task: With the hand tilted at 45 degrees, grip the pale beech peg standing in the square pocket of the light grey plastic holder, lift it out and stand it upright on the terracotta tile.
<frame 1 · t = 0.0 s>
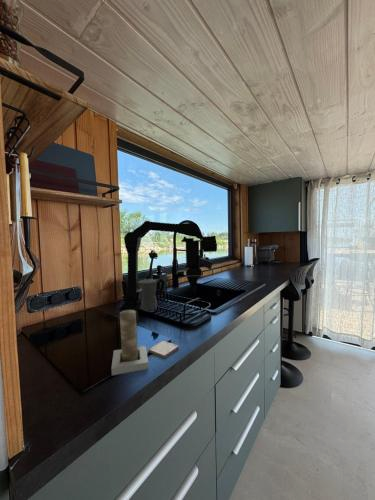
hand: (193, 288, 96), 15 cm above the worktop, tool pointing down, fingers open, 9 cm apart
coffeepot: (151, 310, 114), on the worktop
tile: (163, 349, 74), on the worktop
peg: (129, 337, 67), in the holder
holder: (130, 362, 67), on the worktop
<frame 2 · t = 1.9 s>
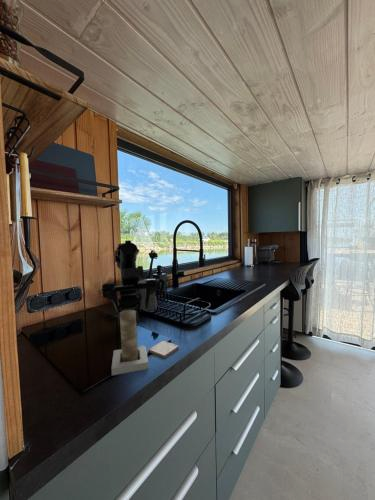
hand: (132, 310, 74), 13 cm above the worktop, tool tilted 40°, fingers open, 9 cm apart
nothing on the worktop moved.
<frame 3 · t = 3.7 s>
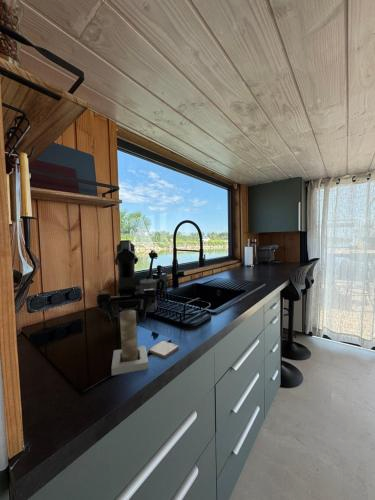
hand: (128, 322, 69), 11 cm above the worktop, tool tilted 45°, fingers open, 9 cm apart
nothing on the worktop moved.
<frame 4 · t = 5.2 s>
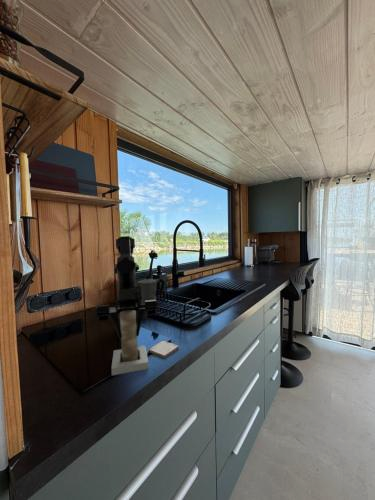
hand: (128, 336, 65), 9 cm above the worktop, tool tilted 45°, fingers closed on peg, 5 cm apart
peg: (129, 337, 67), in the holder, touching gripper
everything else where it was.
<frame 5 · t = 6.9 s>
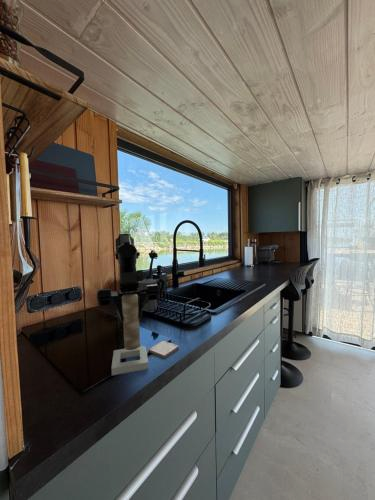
hand: (131, 320, 65), 13 cm above the worktop, tool tilted 45°, fingers closed on peg, 5 cm apart
peg: (131, 321, 67), point 13 cm above the worktop, touching gripper
everything else where it was.
when the fingers open (10 cm above the worktop, at t = 8.9 s): peg stays where it is, resting on tile.
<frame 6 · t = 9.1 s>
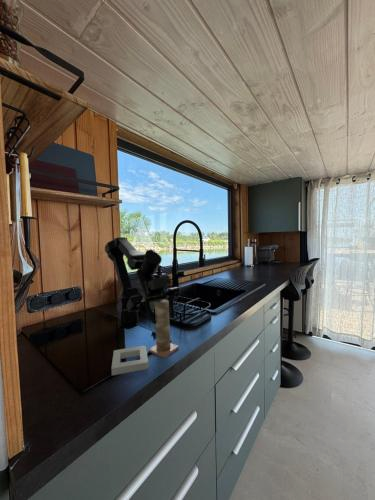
hand: (164, 320, 72), 10 cm above the worktop, tool tilted 45°, fingers open, 6 cm apart
peg: (162, 324, 73), on the tile, point 9 cm above the worktop
everything else where it was.
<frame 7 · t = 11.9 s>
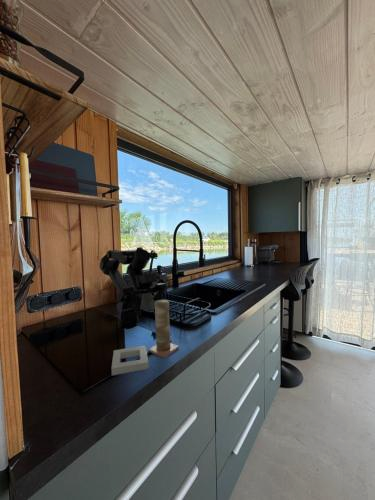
hand: (151, 312, 80), 11 cm above the worktop, tool tilted 40°, fingers open, 9 cm apart
nothing on the worktop moved.
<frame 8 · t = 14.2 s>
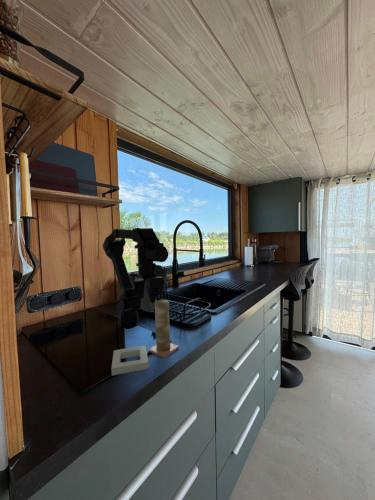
hand: (147, 300, 86), 13 cm above the worktop, tool pointing down, fingers open, 9 cm apart
nothing on the worktop moved.
at the end: peg 0.0 cm off-centre on the tile, point 8.5 cm above the tile's base; peg tilted 0°; the gripper is holding nothing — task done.
